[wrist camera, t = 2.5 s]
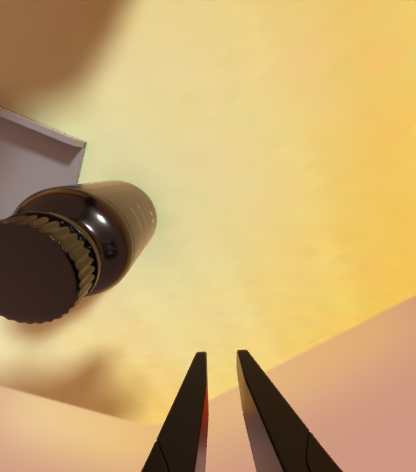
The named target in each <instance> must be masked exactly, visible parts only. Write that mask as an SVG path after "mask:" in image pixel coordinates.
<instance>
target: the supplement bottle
mask: <svg viewBox="0 0 416 472" xmlns="http://www.w3.org/2000/svg"><path fill="white" fill-rule="evenodd" d="M156 223H157V216H156V211H155V208H154V205H153V203H152V201H151V200H150V198H149V197H148V196H147V195H146V194H145V193H144V192H143V191H142V190H141V189H139V188H138V187H136V186H134V185H132V184H130V183H127V182H122V181H104V182H95V183H86V184H76V185H67V186H59V187H53V188H48V189H44V190H41V191H38V192H36V193H34V194H32V195H30V196H29V197H27V198H26V199H25V200H24V201H23V202H21V203H20V205H19V206H18V207H17V208H16V209H15V211H14V212H13V214H12V216H10V217H8V218H6V219H2V220H0V316H3V317H5V318H7V319H8V320H15V321H17V322H19V323H22V322H25V323H28V324H33V323H40V324H41V323H44V322H51V321H53V320H54V319H58V318H61V317H62V316H64V315H65V314H67V313H69V312H70V311H71V310H72V309H73V308H74V307H75V306H76V305H77V304H78V303H79V302H80V301H81V300H82V299H83V298H85V297H91V296H95V295H98V294H101V293H103V292H106V291H108V290H109V289H111V288H113V287H114V286H115V285H117V284H118V283H119V282H120V281H121V280H122V279H123V277H124V276H125V275H126V274H127V272H128V271H129V269H130V268H131V267H132V265H133V264H134V262H135V261H136V259H137V258H138V257H139V255H140V254H141V252H142V251H143V249H144V248H145V246H146V245H147V244H148V242H149V241H150V239H151V238H152V236H153V234H154V232H155V228H156Z"/></svg>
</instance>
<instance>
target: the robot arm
mask: <svg viewBox="0 0 416 472" xmlns="http://www.w3.org/2000/svg"><path fill="white" fill-rule="evenodd" d="M237 375H238V382H239V389H240V396H241V404H242V410H243V416H244V420H245V425H246V429H247V433H248V437H249V441H250V446H251V450H252V454H253V458H254V463H255V467H256V471H257V472H343V471H342V470H341V469H340V468H339V467H338V466H337V464H336V463H335V462H334V461H333V460H332V458H331V457H330V456H329V455H328V453H327V452H326V451H325V450H324V448H323V447H322V446H321V445H320V444H319V442H318V441H317V440H316V438H315V437H314V436H313V434H312V433H311V432H309V429H308V428H307V427H306V425H305V424H304V423H303V422H302V420H301V419H300V418H299V416H298V415H297V414H296V413H295V411H294V410H293V409H292V408H291V407H290V405H289V404H288V402H287V401H286V400H285V398H284V397H283V396H282V395H281V393H280V392H279V391H278V389H277V388H276V387H275V386H274V384H273V383H272V382H271V380H270V379H269V378H268V377H267V375H266V374H265V373H264V371H263V370H262V369H261V368H260V366H259V365H258V364H257V362H256V361H255V360H254V358H253V357H252V356H251V355H250V353H249V352H248V351H247V350H238V351H237ZM207 433H208V381H207V354H206V352H197V353H196V355H195V357H194V359H193V361H192V363H191V365H190V368H189V370H188V372H187V374H186V376H185V379H184V381H183V383H182V385H181V387H180V389H179V392H178V394H177V396H176V398H175V400H174V402H173V405H172V407H171V409H170V411H169V413H168V415H167V418H166V420H165V422H164V424H163V427H162V429H161V431H160V433H159V435H158V437H157V441H156V442H155V443H154V446H153V448H152V450H151V452H150V455H149V456H148V459H147V461H146V463H145V465H144V467H143V469H142V471H141V472H205V464H206V447H207Z"/></svg>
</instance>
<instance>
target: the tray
mask: <svg viewBox="0 0 416 472" xmlns="http://www.w3.org/2000/svg"><path fill="white" fill-rule="evenodd" d="M85 147H86V142H84V141H81V140H79V139H77V138H74V137H72V136H69V135H67V134H65V133H62V132H60V131H57V130H55V129H53V128H50V127H48V126H45V125H43V124H40V123H38V122H36V121H33V120H31V119H28V118H26V117H24V116H21V115H19V114H16V113H14V112H11V111H9V110H7V109H4V108H2V107H0V220H2V219H6V218H8V217H10V216H12V214H13V212H14V211H15V209H16V208H17V207H18V206H19V205H20V203H21V202H23V201H24V200H25V199H26V198H27V197H29V196H30V195H32V194H34V193H36V192H38V191H41V190H44V189H48V188H53V187H59V186H67V185H76V184H77V183H78V179H79V174H80V170H81V165H82V161H83V156H84V152H85Z"/></svg>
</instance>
